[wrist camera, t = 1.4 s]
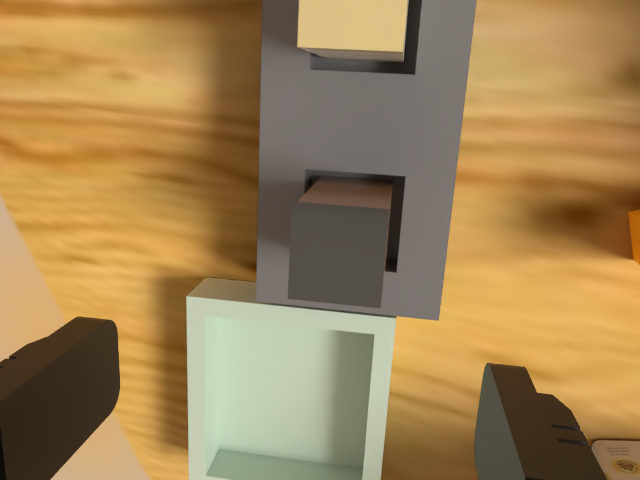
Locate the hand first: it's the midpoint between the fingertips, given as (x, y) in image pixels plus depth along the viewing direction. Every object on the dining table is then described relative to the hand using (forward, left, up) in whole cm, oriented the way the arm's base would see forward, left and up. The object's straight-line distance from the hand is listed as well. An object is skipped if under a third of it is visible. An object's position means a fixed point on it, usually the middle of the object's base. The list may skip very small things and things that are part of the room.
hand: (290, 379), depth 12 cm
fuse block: (-5, 0, -19) cm, 19 cm away
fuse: (-9, 0, -17) cm, 19 cm away
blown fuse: (0, 0, -17) cm, 17 cm away
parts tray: (+11, -3, -19) cm, 22 cm away
